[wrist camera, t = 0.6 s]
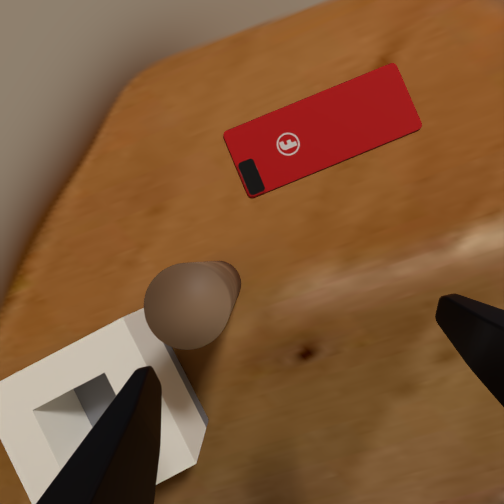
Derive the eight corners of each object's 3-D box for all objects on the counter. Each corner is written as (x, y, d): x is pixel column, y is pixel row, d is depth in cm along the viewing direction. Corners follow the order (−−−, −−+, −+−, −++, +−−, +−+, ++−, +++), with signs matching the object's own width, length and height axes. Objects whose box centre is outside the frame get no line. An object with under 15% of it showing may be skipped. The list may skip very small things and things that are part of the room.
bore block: (208, 419, 21) (196, 463, 16) (93, 480, 21) (50, 540, 16) (150, 305, 21) (122, 317, 17) (36, 364, 21) (-22, 392, 17)
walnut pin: (248, 293, 21) (245, 324, 11) (208, 314, 21) (168, 364, 11) (227, 253, 21) (205, 247, 11) (187, 274, 21) (128, 287, 11)
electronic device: (392, 65, 22) (222, 135, 22) (395, 60, 21) (221, 131, 21) (420, 130, 22) (249, 200, 22) (424, 127, 21) (249, 199, 21)
